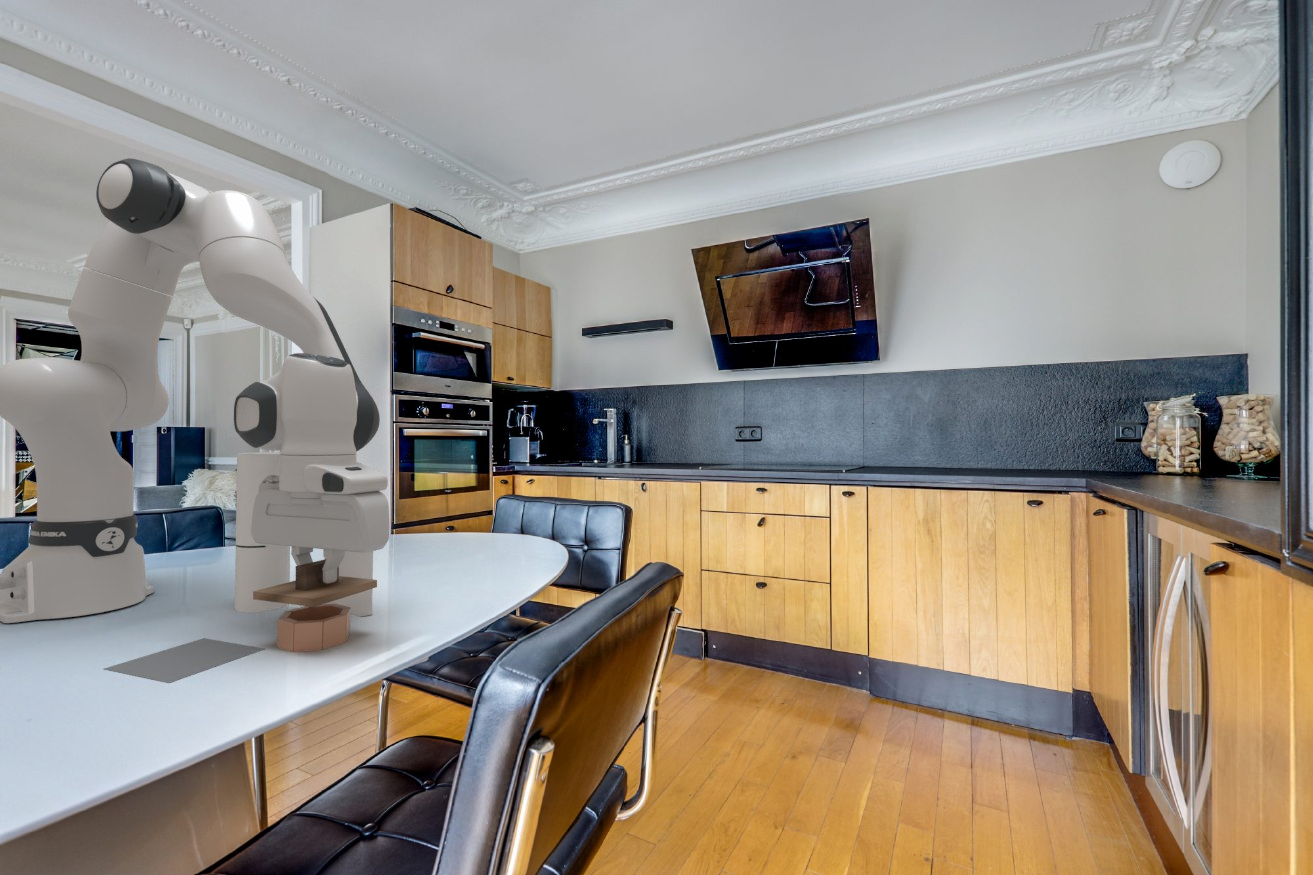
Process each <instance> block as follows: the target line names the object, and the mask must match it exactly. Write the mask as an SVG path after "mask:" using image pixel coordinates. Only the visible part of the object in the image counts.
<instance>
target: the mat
mask: <svg viewBox="0 0 1313 875" xmlns="http://www.w3.org/2000/svg"><path fill="white" fill-rule="evenodd" d="M264 650H266V648H264V647H258V646H252V645H246V644H240V643H235V642H229V641H225V640H224V641H222V640H219V639H218V640H217V639H212V638H208V637H207V638H206V637H204V638H200V639H196V640H193V641H190V642H187V643H184V644H180V645H176V646H172V647H170V648H167V649H164V650H160V651H157V652H154V653H153V652H152V653H151V654H148V655H144V656H141V657H138V658H135V659H131V660H128V661H125V662H120V663H118V664H115V665H111V666H108V667H104V668H103V670H104V671H110V672H114V673H118V674H125V675H129V676H133V677H138V678H141V679H146V680H152V681H157V682H161V683H166V684H172V683H174V682H177V681H180V680H183V679H185V678H188V677H191V676H193V675H196V674H200V673H203V672H205V671H209V670H210V669H211V670H212V669H213V668H217V667H219V666H222V665H225V664H228V663H230V662H233V661H237V660H239V659H241V658H244V657H247V656H250V655H253V654H255V653H259V652H261V651H264Z"/></svg>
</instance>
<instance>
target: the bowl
mask: <svg viewBox="0 0 1313 875" xmlns="http://www.w3.org/2000/svg"><path fill="white" fill-rule="evenodd" d="M351 617H352V616H351V607H347V606H343V605H339V604H322V605H319V606H316V607H309V606H299V607H295V608H292V609H289V610H285V611H283V613H282V614H281V615H280V617H278V618H277V643H276V644H277V645H276V646H277V648H278V649H281V650H284V651H288V652H291V653H296V652H300V653H301V652H311V651H319V650H320V651H321V650H324V649H327V648H331V647H333V646H337V645H341V644H343V643H346V642H347V641H348V638H349V637H350V635H351Z"/></svg>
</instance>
